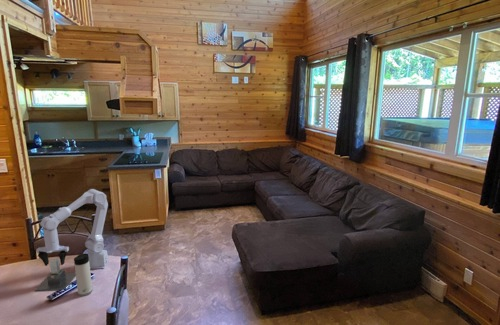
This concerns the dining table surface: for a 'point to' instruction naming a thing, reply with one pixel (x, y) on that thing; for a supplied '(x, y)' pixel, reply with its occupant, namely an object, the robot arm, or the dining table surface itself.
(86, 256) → the travel mug
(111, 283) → the dining table surface
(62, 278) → the stand base
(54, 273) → the column
